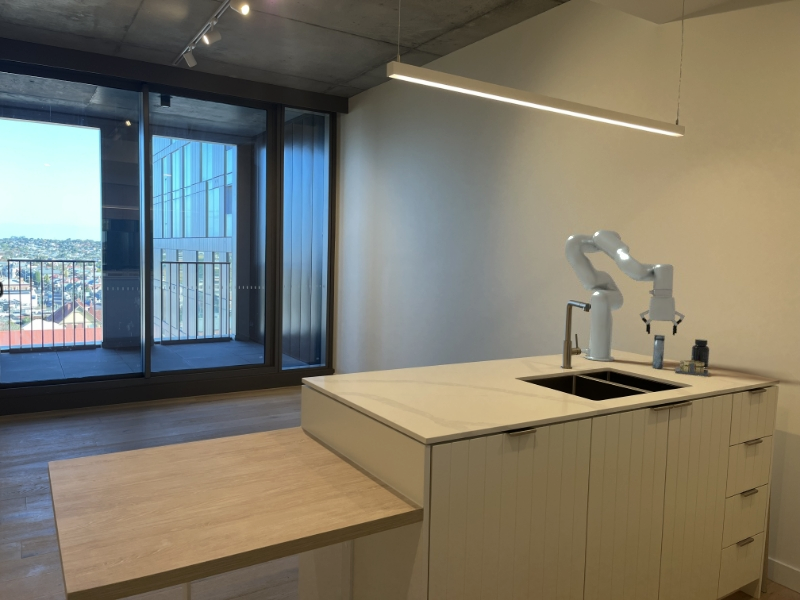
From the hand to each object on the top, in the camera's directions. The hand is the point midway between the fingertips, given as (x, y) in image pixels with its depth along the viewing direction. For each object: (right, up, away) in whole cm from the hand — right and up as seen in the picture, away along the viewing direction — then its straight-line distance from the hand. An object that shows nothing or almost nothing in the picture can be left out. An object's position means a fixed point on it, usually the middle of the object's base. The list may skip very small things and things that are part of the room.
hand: (661, 334), depth 257 cm
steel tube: (-1, -14, +1) cm, 14 cm away
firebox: (+9, -15, -7) cm, 19 cm away
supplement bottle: (+21, -15, +10) cm, 27 cm away
